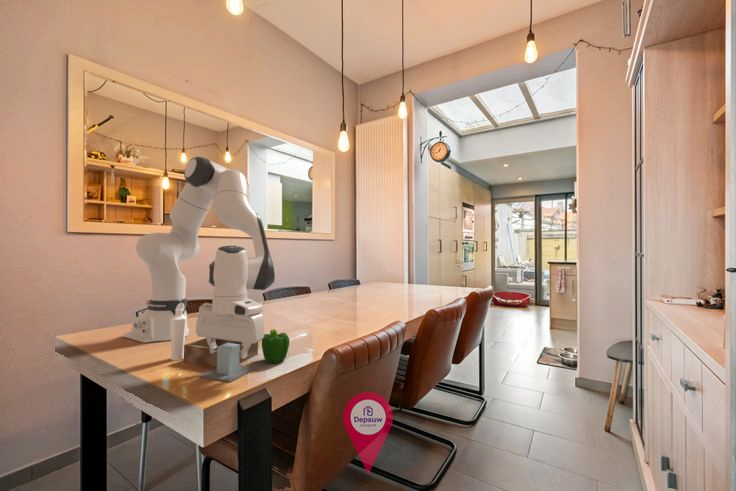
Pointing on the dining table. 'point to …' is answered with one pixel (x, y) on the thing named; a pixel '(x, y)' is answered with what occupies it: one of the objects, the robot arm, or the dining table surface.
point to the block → (228, 358)
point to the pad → (224, 377)
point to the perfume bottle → (177, 335)
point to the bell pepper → (275, 346)
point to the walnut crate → (201, 353)
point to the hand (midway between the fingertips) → (228, 355)
